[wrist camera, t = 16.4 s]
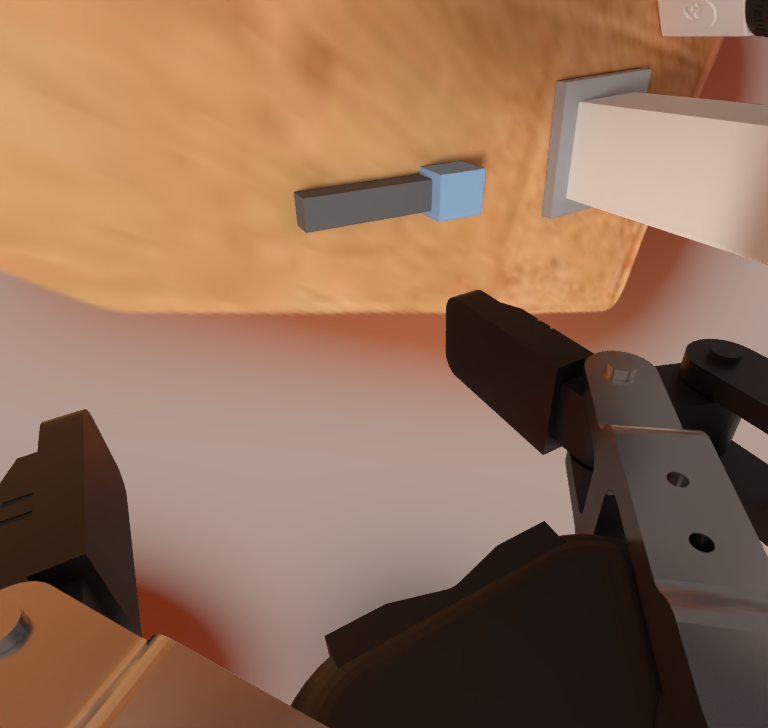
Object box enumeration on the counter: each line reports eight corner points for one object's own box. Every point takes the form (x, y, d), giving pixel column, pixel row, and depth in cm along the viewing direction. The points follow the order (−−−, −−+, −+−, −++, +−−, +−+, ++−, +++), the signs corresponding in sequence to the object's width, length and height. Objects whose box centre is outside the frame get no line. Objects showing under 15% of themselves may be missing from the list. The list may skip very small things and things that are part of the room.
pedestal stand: (500, 226, 58) (798, 359, 34) (509, 88, 50) (905, 135, 26) (616, 195, 64) (937, 289, 40) (640, 68, 56) (1058, 91, 32)
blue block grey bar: (298, 232, 48) (313, 245, 45) (292, 184, 45) (308, 194, 42) (459, 204, 54) (481, 214, 51) (461, 160, 52) (485, 168, 49)
